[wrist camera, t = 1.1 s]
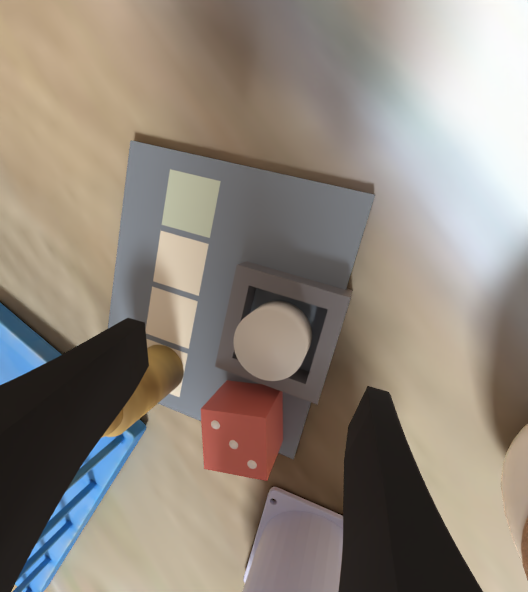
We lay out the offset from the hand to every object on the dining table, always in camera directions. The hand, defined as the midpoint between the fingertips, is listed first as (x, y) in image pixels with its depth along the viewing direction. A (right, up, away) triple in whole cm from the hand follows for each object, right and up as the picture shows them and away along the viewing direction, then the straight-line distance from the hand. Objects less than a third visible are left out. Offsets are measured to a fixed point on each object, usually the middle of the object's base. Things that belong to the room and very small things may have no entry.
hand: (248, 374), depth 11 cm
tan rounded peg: (-7, -3, +15) cm, 16 cm away
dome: (+1, 0, +10) cm, 10 cm away
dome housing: (+2, +1, +12) cm, 12 cm away
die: (0, -5, +13) cm, 14 cm away
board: (-3, +2, +13) cm, 13 cm away
